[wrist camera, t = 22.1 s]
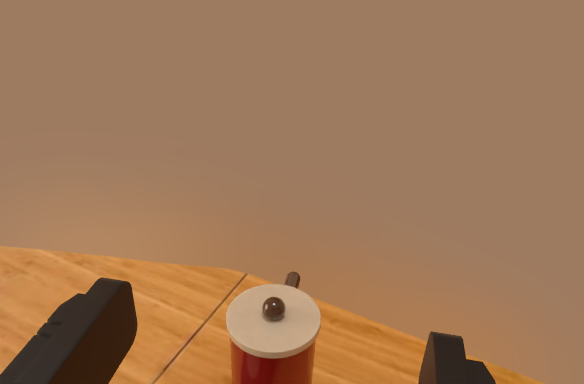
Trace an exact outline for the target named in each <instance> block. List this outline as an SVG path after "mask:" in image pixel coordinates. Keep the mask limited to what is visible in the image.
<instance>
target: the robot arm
mask: <svg viewBox="0 0 584 384" xmlns="http://www.w3.org/2000/svg"><path fill="white" fill-rule="evenodd" d="M136 332H137V318H136V312H135V305H134V299H133V293H132V287H131V284H130V283H129V282H127V281H121V280H115V279H108V278H100V279H98V280H97V281H96V282H95V283H94V285H93V286H92V287H91V288H90V290H89V291H88V292H87V293H86V294H79V293H78V294H77V295H75V296H74V297H72V298H71V299H69V300H68V301H66V302H64V303H63V304H61V305H60V306H59V307H58V308H57V310H56V311H55V312H54V313H53V314H52V315H51V317H50V318H49V319H48V322H47V323H45V324H44V325H43V326H42V327H41V328H40V329H39V331H38V332H37V335H34V336H33V338H32V339H31V340H30V341H29V342H28V343H27V344H26V346H25V347H24V348H23V349H22V350H21V351H20V353H19V354H18V355H17V356H16V357H15V358H14V360H13V361H12V362H11V363H10V364H9V365H8V367H7V368H6V369H5V370H4V371H3V372H2V374H1V375H0V384H108V383H109V382H110V380H111V378H112V377H113V375H114V374H115V372H116V370H117V369H118V367H119V365H120V364H121V362H122V361H123V359H124V357H125V356H126V354H127V352H128V351H129V349H130V348H131V346H132V344H133V342H134V339H135V336H136ZM418 384H496V383H495V380H494V379H493V377H492V376H491V374H490V373H489V371H488V370H487V368H486V366H485V365H484V363H483V362H479V361H473V360H467V359H466V356H465V350H464V344H463V339H462V337H461V336H456V335H450V334H443V333H437V332H430V334H429V338H428V342H427V346H426V350H425V354H424V358H423V362H422V366H421V371H420V376H419V383H418Z"/></svg>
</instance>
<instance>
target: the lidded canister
mask: <svg viewBox="0 0 584 384" xmlns="http://www.w3.org/2000/svg"><path fill="white" fill-rule="evenodd" d="M299 282H300V276H299V274H298V273H297V272H290V273H289V274H288V275H287V277H286V281H285V284H284V285H281V284H265V285H259V286H256V287H253V288H250V289H248V290H246V291H244V292H242V293H240V294H239V295H238V296H237V297H236V298H235V299H234V300H233V301H232V302H231V304H230V305H229V307H228V310H227V313H226V328H227V332H228V334H229V337H230V343H231V370H232V384H312V377H313V365H314V353H315V342H316V338H317V336H318V334H319V331H320V325H321V314H320V310H319V308H318V306H317V304H316V303H315V301H314V300H313V299H312V298H311V297H310V296H309V295H307V294H306V293H304V292H303V291H301V290H299V289H298V286H299Z"/></svg>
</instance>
